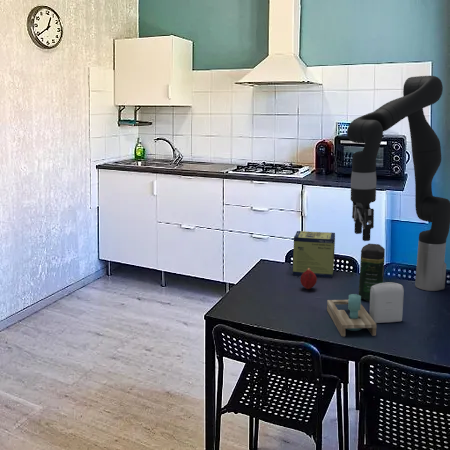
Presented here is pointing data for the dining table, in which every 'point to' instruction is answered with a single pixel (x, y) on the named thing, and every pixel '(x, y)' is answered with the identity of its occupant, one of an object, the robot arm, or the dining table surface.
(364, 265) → the coffee jar
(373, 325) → the keyhole plate
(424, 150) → the robot arm
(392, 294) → the photo printer
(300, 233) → the protein box
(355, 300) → the peg
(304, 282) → the red pomegranate
